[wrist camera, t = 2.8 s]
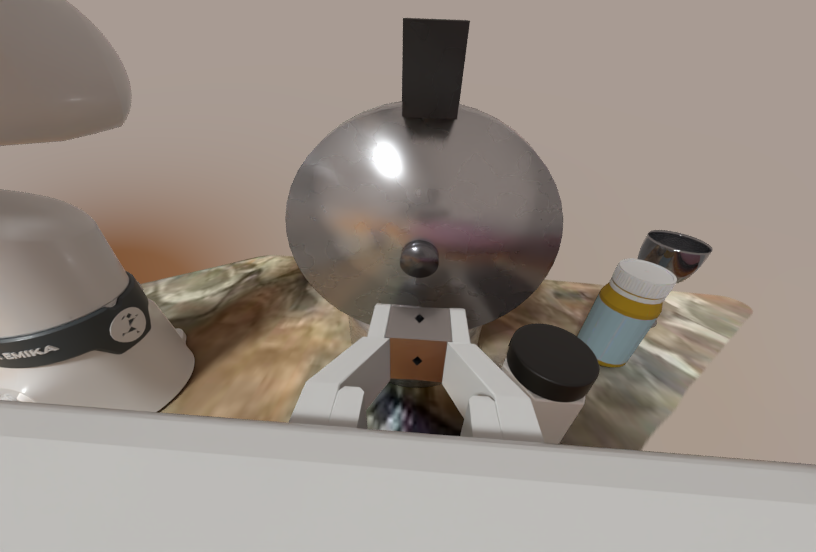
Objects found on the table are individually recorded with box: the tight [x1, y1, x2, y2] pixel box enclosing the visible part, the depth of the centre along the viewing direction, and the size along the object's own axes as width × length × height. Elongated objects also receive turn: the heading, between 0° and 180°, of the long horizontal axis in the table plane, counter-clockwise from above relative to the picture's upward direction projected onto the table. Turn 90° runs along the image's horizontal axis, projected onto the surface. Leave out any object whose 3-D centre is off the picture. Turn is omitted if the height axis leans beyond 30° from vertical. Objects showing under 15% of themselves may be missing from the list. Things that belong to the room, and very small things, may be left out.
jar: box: [501, 324, 599, 444], centre depth 32 cm, size 9×8×12 cm
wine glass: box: [638, 230, 712, 328], centre depth 48 cm, size 8×8×15 cm
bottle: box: [577, 259, 677, 367], centre depth 40 cm, size 7×7×15 cm
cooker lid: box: [286, 18, 563, 329], centre depth 22 cm, size 21×24×2 cm
